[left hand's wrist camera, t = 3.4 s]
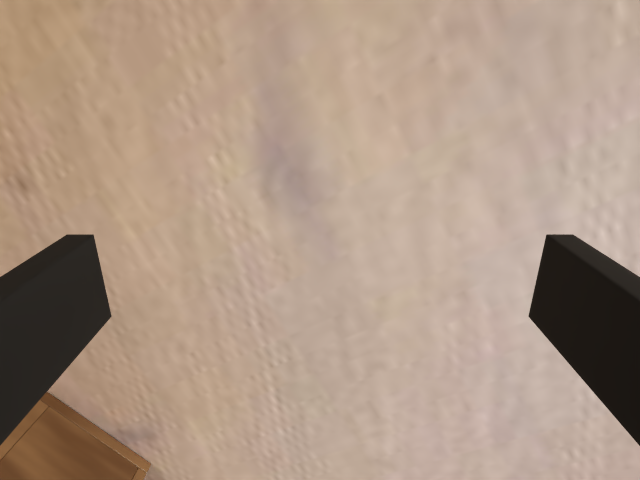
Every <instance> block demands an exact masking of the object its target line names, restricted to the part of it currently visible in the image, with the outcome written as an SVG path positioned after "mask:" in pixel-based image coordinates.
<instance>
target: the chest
mask: <svg viewBox="0 0 640 480" xmlns="http://www.w3.org/2000/svg"><path fill="white" fill-rule="evenodd" d="M150 465H151V464H150V463H149V462H147V461H146V460H144V459H143V458H142V457H140V456H139V455H137V454H136V453H134V452H133V451H131V450H130V449H129V448H127V447H126V446H124V445H123V444H121V443H120V442H118V441H117V440H116V439H114V438H113V437H111V436H110V435H108V434H107V433H105V432H104V431H103V430H101V429H100V428H98V427H97V426H95V425H94V424H92V423H91V422H90V421H88V420H87V419H85V418H84V417H82V416H81V415H79V414H78V413H77V412H75V411H74V410H72V409H71V408H69V407H68V406H66V405H65V404H64V403H62V402H61V401H59V400H58V399H56V398H55V397H53V396H52V395H51V394H49V393H48V392H46V393H45V394H44V395H43V397H42V398H41V399H40V400H39V401H38V402H37V404H36V405H35V406H34V407H33V408H32V409H31V411H30V412H29V413H28V414H27V415H26V416H25V418H24V419H23V420H22V421H21V422H20V423H19V424H18V426H17V427H16V428H15V429H14V430H13V431H12V433H11V434H10V435H9V436H8V437H7V438H6V440H5V441H4V442H3V443H2V444H1V445H0V480H143V479H144V477H145V475H146V473H147V471H148V469H149V467H150Z"/></svg>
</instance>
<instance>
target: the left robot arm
mask: <svg viewBox="0 0 640 480" xmlns="http://www.w3.org/2000/svg"><path fill="white" fill-rule="evenodd" d="M110 317H111V312H110V308H109V303H108V299H107V294H106V290H105V285H104V280H103V276H102V271H101V267H100V262H99V258H98V253H97V248H96V244H95V239H94V235H66V236H64V237H63V238H61V239H59V240H58V241H56V242H55V243H53V244H52V245H50V246H48V247H47V248H45V249H44V250H42V251H41V252H39V253H37V254H36V255H34V256H33V257H31V258H30V259H28V260H26V261H25V262H23V263H22V264H20V265H19V266H17V267H15V268H14V269H12V270H11V271H9V272H8V273H6V274H4V275H3V276H1V277H0V445H1V444H2V443H3V442H4V441H5V440H6V438H7V437H8V436H9V435H10V434H11V433H12V431H13V430H14V429H15V428H16V427H17V426H18V424H19V423H20V422H21V421H22V420H23V419H24V418H25V416H26V415H27V414H28V413H29V412H30V411H31V409H32V408H33V407H34V406H35V405H36V404H37V402H38V401H39V400H40V399H41V398H42V397H43V395H44V394H45V393H46V392H47V391H48V390H49V388H50V387H51V386H52V385H53V384H54V383H55V381H56V380H57V379H58V378H59V377H60V376H61V374H62V373H63V372H64V371H65V370H66V369H67V367H68V366H69V365H70V364H71V363H72V362H73V360H74V359H75V358H76V357H77V356H78V355H79V354H80V352H81V351H82V350H83V349H84V348H85V347H86V345H87V344H88V343H89V342H90V341H91V340H92V338H93V337H94V336H95V335H96V334H97V333H98V331H99V330H100V329H101V328H102V327H103V326H104V324H105V323H106V322H107V321H108V320H109V319H110ZM529 317H530V319H531V320H532V321H533V322H534V323H535V324H536V326H537V327H538V328H539V329H540V330H541V331H542V333H543V334H544V335H545V336H546V337H547V338H548V340H549V341H550V342H551V343H552V344H553V345H554V347H555V348H556V349H557V350H558V351H559V352H560V354H561V355H562V356H563V357H564V358H565V359H566V360H567V362H568V363H569V364H570V365H571V366H572V367H573V369H574V370H575V371H576V372H577V373H578V374H579V376H580V377H581V378H582V379H583V380H584V381H585V383H586V384H587V385H588V386H589V387H590V388H591V390H592V391H593V392H594V393H595V394H596V395H597V397H598V398H599V399H600V400H601V401H602V402H603V404H604V405H605V406H606V407H607V408H608V409H609V411H610V412H611V413H612V414H613V415H614V416H615V418H616V419H617V420H618V421H619V422H620V423H621V424H622V426H623V427H624V428H625V429H626V430H627V431H628V433H629V434H630V435H631V436H632V437H633V438H634V440H635V441H636V442H637V443H638V444H639V445H640V277H639V276H637V275H636V274H634V273H632V272H631V271H629V270H628V269H626V268H625V267H623V266H621V265H620V264H618V263H617V262H615V261H614V260H612V259H610V258H609V257H607V256H606V255H604V254H603V253H601V252H599V251H598V250H596V249H595V248H593V247H592V246H590V245H588V244H587V243H585V242H584V241H582V240H581V239H579V238H577V237H576V236H574V235H546V239H545V244H544V248H543V253H542V258H541V262H540V267H539V271H538V276H537V280H536V285H535V290H534V294H533V299H532V303H531V308H530V312H529Z"/></svg>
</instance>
